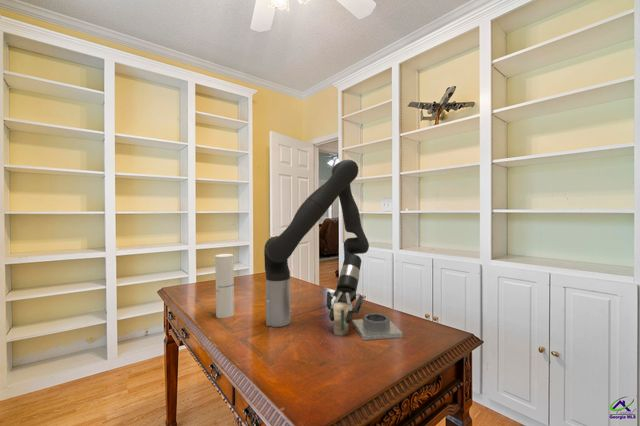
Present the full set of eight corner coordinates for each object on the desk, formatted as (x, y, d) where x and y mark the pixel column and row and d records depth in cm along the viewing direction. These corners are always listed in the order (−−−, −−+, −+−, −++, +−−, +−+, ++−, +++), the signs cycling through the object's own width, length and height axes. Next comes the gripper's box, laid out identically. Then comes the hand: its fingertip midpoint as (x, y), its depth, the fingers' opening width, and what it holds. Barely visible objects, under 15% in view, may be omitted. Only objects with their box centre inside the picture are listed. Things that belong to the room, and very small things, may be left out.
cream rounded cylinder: (335, 336, 101) (335, 307, 100) (332, 330, 106) (332, 302, 106) (350, 335, 101) (349, 306, 101) (346, 329, 107) (346, 301, 106)
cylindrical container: (228, 318, 118) (227, 256, 117) (212, 317, 119) (211, 256, 118) (237, 312, 125) (236, 254, 124) (221, 311, 126) (221, 253, 125)
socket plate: (363, 340, 98) (363, 327, 97) (352, 323, 111) (352, 312, 111) (402, 337, 100) (402, 324, 100) (387, 321, 113) (387, 309, 113)
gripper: (328, 272, 113) (317, 314, 102) (365, 275, 108) (357, 319, 97) (333, 282, 118) (323, 323, 107) (368, 286, 113) (361, 329, 102)
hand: (339, 321), depth 102 cm, fingers closed on cream rounded cylinder, 5 cm apart
